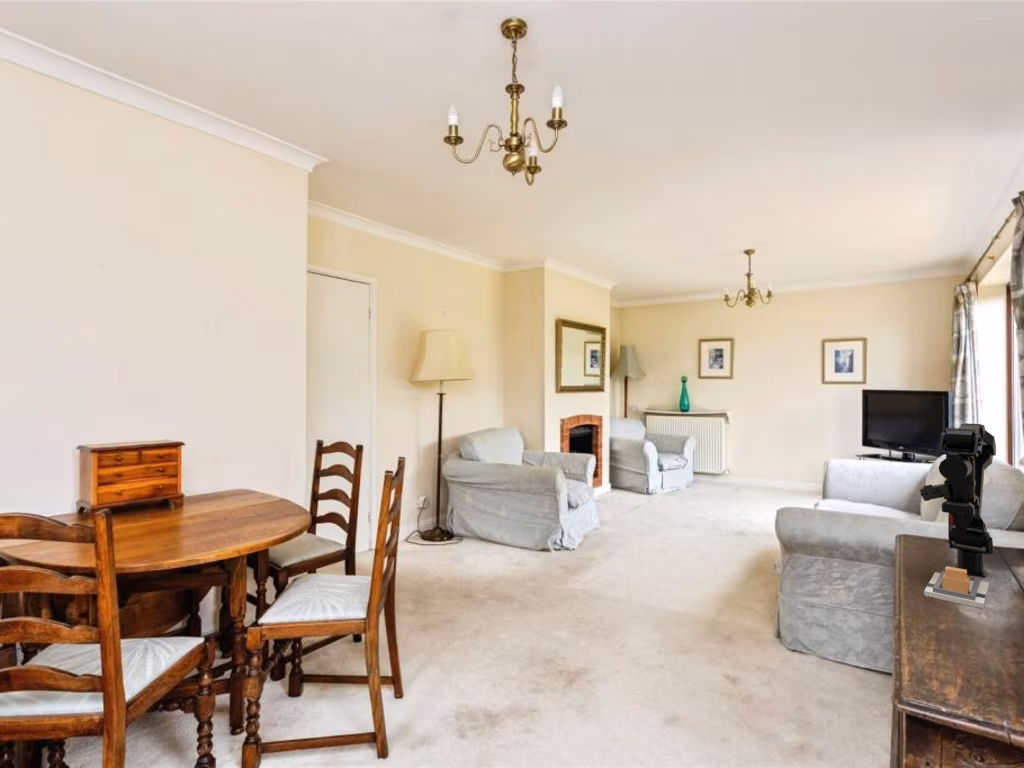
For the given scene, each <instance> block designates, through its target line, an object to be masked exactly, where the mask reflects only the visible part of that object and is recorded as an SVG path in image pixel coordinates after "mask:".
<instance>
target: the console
mask: <svg viewBox="0 0 1024 768" xmlns="http://www.w3.org/2000/svg"><path fill="white" fill-rule="evenodd" d="M944 573H945V570H942V571H941V572H934V574H933V575H932V577H931V579H930V580H929V582H928V583H927V585H926V587H925V589H924V590H923V594H924V595H925V596H924V595H923V596H924V597H928V596H929V598H932V597H933V598H934V599H937V600H941V601H947V602H952V603H956V604H960V605H964V606H965V605H966V606H970V607H973V608H974V607H975V608H979V609H985V606H986V601H987V597H988V593H989V588H990V582H989V581H983V580H981V577H980V576H975V575H970V574H967V578H969V593H968V594H965V593H960V592H955V591H951V590H946V589H943V575H944Z"/></svg>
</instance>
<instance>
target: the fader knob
mask: <svg viewBox="0 0 1024 768" xmlns="http://www.w3.org/2000/svg"><path fill="white" fill-rule="evenodd" d="M944 571H945V573H944V575H943V589H946V590H951V591H955V592H960V593H965V594H968V593H969V578H967V575H968V574H967V570H965V569H959V568H955V567H953V566H948V565H947V566H945V568H944Z"/></svg>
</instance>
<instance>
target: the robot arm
mask: <svg viewBox="0 0 1024 768" xmlns="http://www.w3.org/2000/svg"><path fill="white" fill-rule="evenodd" d="M938 455H945V458H944V459H943V460H942V461H941V462H940V463H939V465H938V471H939V474H940V475H941V476H942V477H943V478H944V479H945V480H944V481H943V483H940V484H939V483H938V484H934V485H933V484H931V483H930V484H927V485H926V484H925V485H923V487H920V488H919V492H920V496H921V497H922V499H923V501H924V502H927V501H928V502H929V501H931V500H935V499H940V498H943V500H944V501H942V503H941V513H946V514H948V513H949V514H951V515H952V517H953V523H952V527H951V526H950V527H949V540H948V544H949V549H956V565H955V567H954V568H959V569H965V570H967V575H969V576H975V577H980V578H981V577H983V578H985V577H986V574H987V570H986V569H984V568H985V567H984V564H985V563H984V561H985V560H984V559H985V558H984V557H985V556H984V554H985V555H987V556H989V555H993V554H994V543H993V537H992V536H991V535H990V532H988V527H987V526H986V524H985V521H984V520H983V519H982V517H981V516H982V506H983V505H982V503H983V491H984V479H985V470H986V469H988V467H990V465H992V463H993V459H994V457H995V456H996V455H997V444H996V439H995V435H993V434H991V433H990V432H989V431H987V429H986V426H985V425H984V424H982V423H968V422H967V423H961V424H960V427H958V428H957V427H956V428H954V427H946V428H945V429H944V431H942V432H941V435H940V440H939V448H938Z"/></svg>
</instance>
